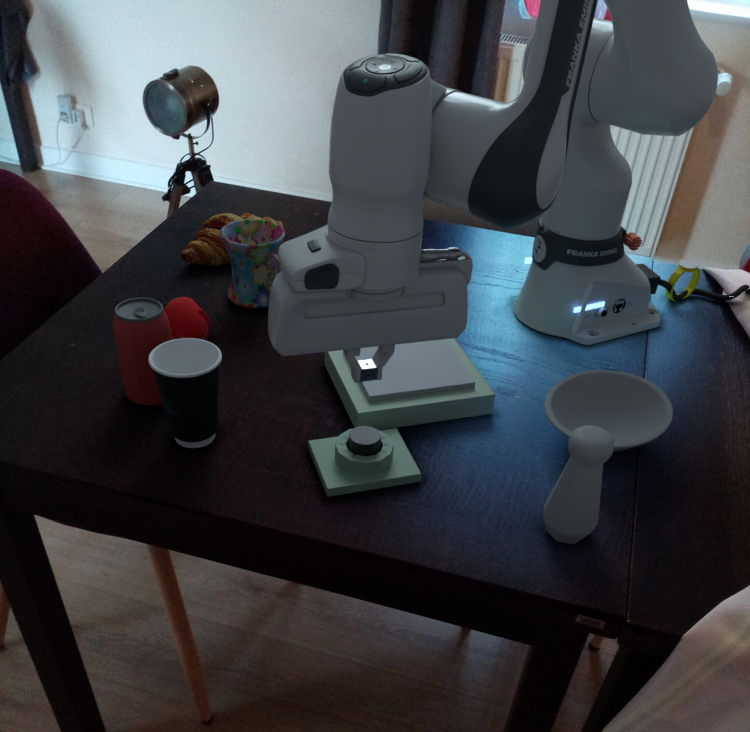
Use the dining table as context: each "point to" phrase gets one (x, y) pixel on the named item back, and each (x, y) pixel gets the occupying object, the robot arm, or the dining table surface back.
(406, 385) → the scale
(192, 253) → the croissant
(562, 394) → the dish
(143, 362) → the beer can
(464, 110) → the robot arm
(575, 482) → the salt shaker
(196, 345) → the dixie cup
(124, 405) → the dining table surface
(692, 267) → the watch
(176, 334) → the cap
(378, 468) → the green dial panel
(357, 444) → the tare button
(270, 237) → the mug
